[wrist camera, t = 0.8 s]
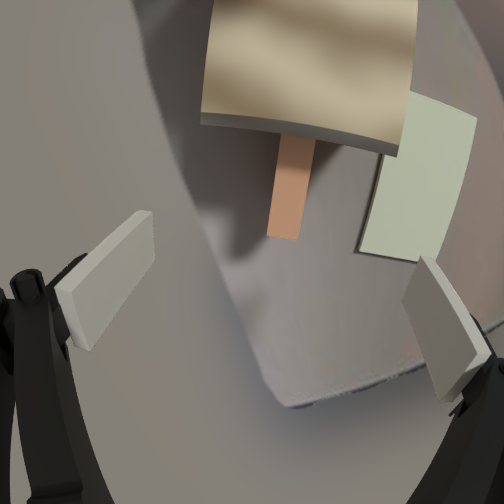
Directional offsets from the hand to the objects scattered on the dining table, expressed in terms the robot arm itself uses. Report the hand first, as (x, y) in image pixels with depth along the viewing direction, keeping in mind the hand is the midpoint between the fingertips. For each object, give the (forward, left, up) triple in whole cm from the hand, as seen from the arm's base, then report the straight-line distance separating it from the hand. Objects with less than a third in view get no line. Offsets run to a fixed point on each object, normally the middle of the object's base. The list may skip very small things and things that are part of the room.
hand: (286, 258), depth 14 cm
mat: (-2, +14, -18) cm, 23 cm away
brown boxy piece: (-13, 0, -18) cm, 22 cm away
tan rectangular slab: (-5, 0, -18) cm, 18 cm away
